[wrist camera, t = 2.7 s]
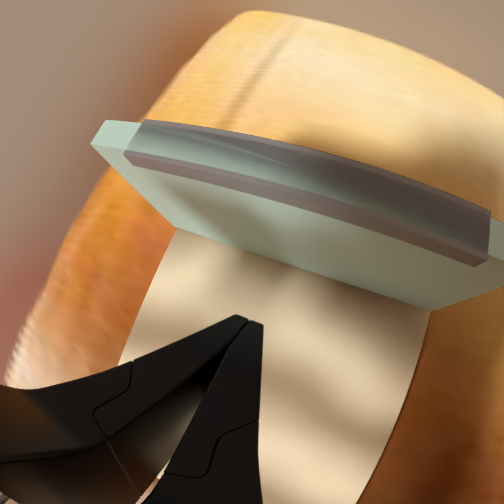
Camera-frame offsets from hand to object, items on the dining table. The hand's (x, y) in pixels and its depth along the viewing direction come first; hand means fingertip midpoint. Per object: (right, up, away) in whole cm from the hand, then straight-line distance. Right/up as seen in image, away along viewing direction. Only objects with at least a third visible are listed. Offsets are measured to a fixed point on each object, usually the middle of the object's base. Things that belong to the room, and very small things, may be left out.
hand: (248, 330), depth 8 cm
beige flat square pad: (0, -5, +8) cm, 10 cm away
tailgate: (+3, +2, +9) cm, 10 cm away
